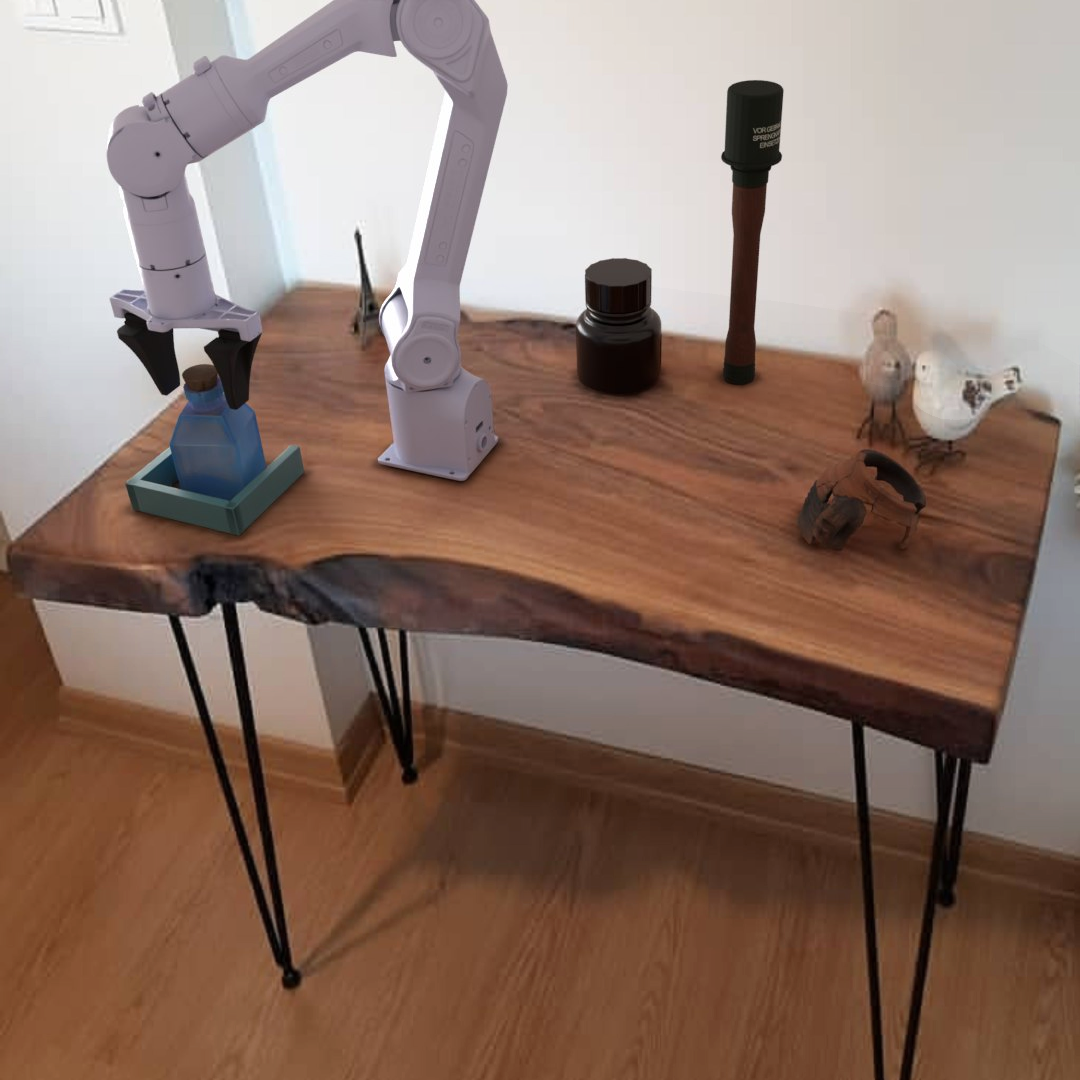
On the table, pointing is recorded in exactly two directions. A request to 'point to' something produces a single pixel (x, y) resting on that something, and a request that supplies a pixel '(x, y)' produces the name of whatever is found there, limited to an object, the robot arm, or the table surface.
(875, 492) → the brown curved piece
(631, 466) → the table surface
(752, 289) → the grenade
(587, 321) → the ink bottle
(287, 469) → the bay
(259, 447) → the perfume bottle
